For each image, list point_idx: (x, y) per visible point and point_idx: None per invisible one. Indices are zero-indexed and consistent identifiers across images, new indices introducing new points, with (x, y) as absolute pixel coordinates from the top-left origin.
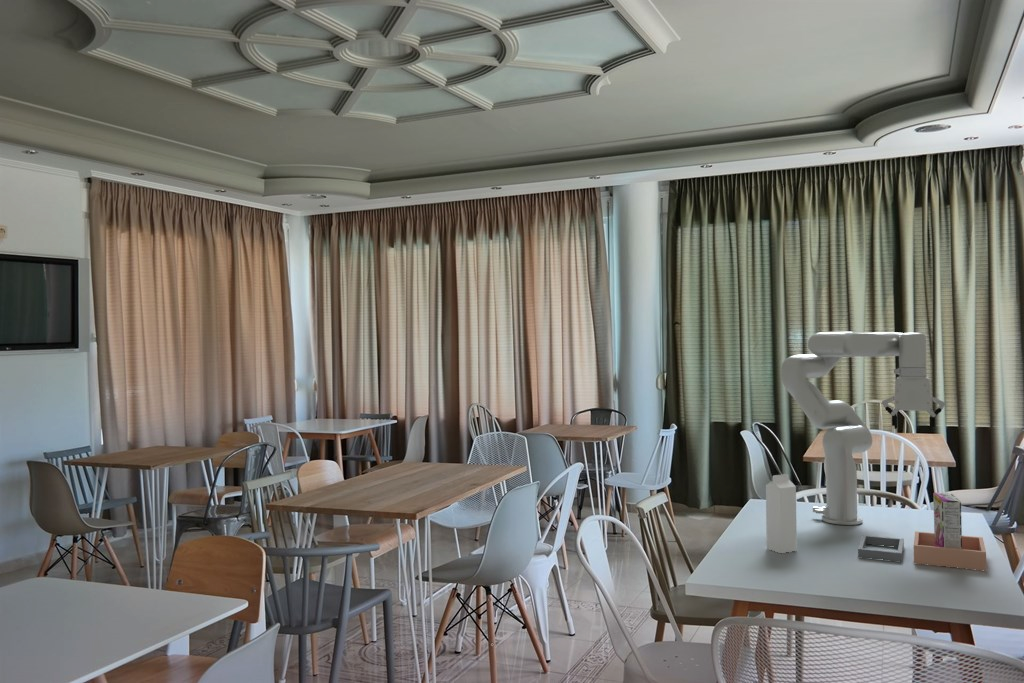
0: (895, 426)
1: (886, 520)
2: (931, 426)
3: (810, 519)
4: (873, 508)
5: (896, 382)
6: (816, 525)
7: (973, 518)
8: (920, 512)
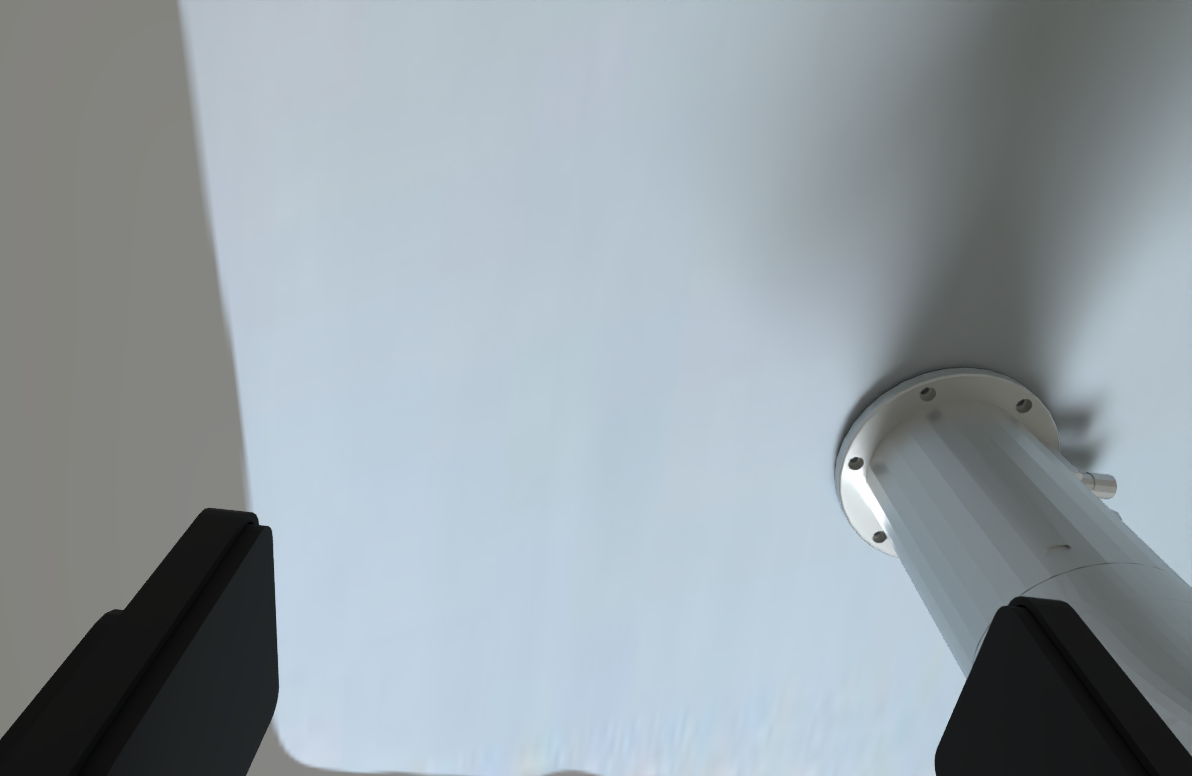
0: (1067, 625)
1: (698, 540)
2: (185, 562)
3: (1107, 462)
4: (722, 754)
5: None
6: (1115, 329)
7: (282, 677)
8: (513, 730)
